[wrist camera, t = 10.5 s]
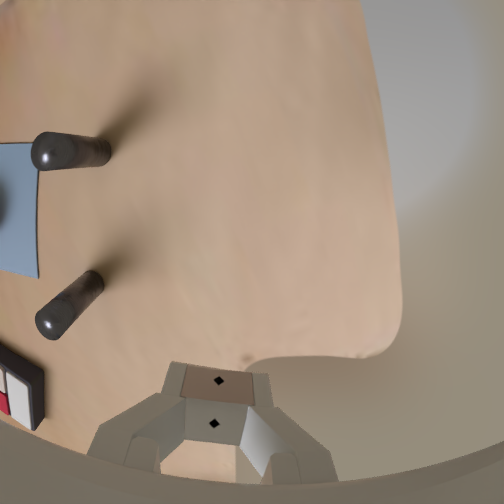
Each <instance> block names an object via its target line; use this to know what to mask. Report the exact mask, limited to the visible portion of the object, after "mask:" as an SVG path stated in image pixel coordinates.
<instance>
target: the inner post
mask: <svg viewBox="0 0 504 504" xmlns="http://www.w3.org/2000/svg"><path fill="white" fill-rule="evenodd" d="M111 153H112V149H111V146H110V144H109V142H108V141H107V140H105V139H102V138H95V137H88V136H80V135H72V134H64V133H55V132H43V133H41V134H40V135H38V136H37V137H36V139H35V140H34V142H33V144H32V147H31V161H32V163H33V165H34V167H35V168H36V169H38V170H40V171H50V170H60V169H72V168H86V167H100V166H103V165H105V164H106V163H107V162H108V161H109V159H110V157H111Z"/></svg>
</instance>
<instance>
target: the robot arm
mask: <svg viewBox="0 0 504 504" xmlns="http://www.w3.org/2000/svg"><path fill="white" fill-rule="evenodd" d="M184 439H185V440H193V441H202V442H212V443H219V444H227V445H237V446H240V448H241V449H242V451H243V452H244V454H245V455H246V456H247V458H248V459H249V460H250V462H251V463H252V464H253V466H254V467H255V468H256V470H257V471H258V472H259V474H260V475H261V476H262V480H261V483H260V484H241V483H227V482H215V481H206V480H198V479H190V478H183V477H177V476H171V475H165V474H161V469H160V463H161V462H162V461H163V460H164V459H165V458H166V457H167V456H168V455H169V454H170V453H171V452H172V451H173V450H175V449H176V448H177V447H178V446H179V445H180V444H181V443H182V442H183V441H184ZM0 504H504V441H503V442H500V443H498V444H495V445H493V446H490V447H488V448H485V449H482V450H480V451H477V452H474V453H471V454H468V455H465V456H462V457H459V458H455V459H452V460H449V461H445V462H442V463H438V464H434V465H431V466H427V467H423V468H419V469H414V470H410V471H405V472H400V473H395V474H390V475H385V476H379V477H372V478H366V479H358V480H350V481H340V482H339V481H338V477H337V474H336V471H335V468H334V464H333V461H332V457H331V454H330V452H329V450H327V449H326V448H325V447H324V446H322V445H321V444H320V443H319V442H317V441H316V440H315V439H314V438H313V437H312V436H310V435H309V434H308V433H307V432H306V431H305V430H303V429H302V428H301V427H300V426H299V425H297V423H295V422H294V421H293V420H292V419H291V418H290V417H289V416H287V415H286V414H285V413H284V412H283V411H282V410H281V409H280V408H278V407H274V406H273V400H272V393H271V386H270V380H269V374H268V373H261V372H242V371H232V370H224V369H218V368H211V367H205V366H199V365H193V364H187V363H181V362H175V361H172V362H171V363H170V365H169V368H168V372H167V375H166V378H165V382H164V385H163V388H162V392H161V393H155V394H153V395H152V396H150V397H148V398H146V399H145V400H143V401H141V402H140V403H138V404H136V405H135V406H133V407H131V408H129V409H128V410H126V411H124V412H122V413H121V414H119V415H117V416H115V417H114V418H112V419H110V420H108V421H106V422H105V423H103V424H101V425H99V428H98V430H97V432H96V434H95V437H94V439H93V441H92V443H91V446H90V448H89V450H88V452H87V455H85V454H82V453H79V452H76V451H73V450H70V449H68V448H65V447H62V446H59V445H57V444H54V443H52V442H49V441H47V440H44V439H42V438H39V437H37V436H35V435H32V434H30V433H28V432H26V431H23V430H21V429H19V428H17V427H15V426H13V425H11V424H9V423H7V422H5V421H3V420H1V419H0Z"/></svg>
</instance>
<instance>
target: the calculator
mask: <svg viewBox="0 0 504 504" xmlns="http://www.w3.org/2000/svg"><path fill="white" fill-rule="evenodd" d="M0 410H1V411H2V412H4V413H5V414H7V415H11V416H12V418H14V419H15V420H17V421H18V422H19V423H21V424H22V425H24V426H25V427H27V428H28V429H30V430H33V431H35V430H36V429H37V427H38V426H39V424H40V423H41V422H42V420H43V419H44V372H43V370H42V369H40V368H39V367H37V366H35V365H33V364H32V363H30V362H28V361H27V360H25V359H24V358H22V357H20V356H19V355H15V354H14V353H12V352H11V351H10V350H8V349H7V348H5V347H4V346H3V345H1V344H0Z"/></svg>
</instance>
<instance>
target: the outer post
mask: <svg viewBox="0 0 504 504" xmlns="http://www.w3.org/2000/svg"><path fill="white" fill-rule="evenodd" d="M103 289H104V282H103V279H102V278H101V276H100V275H99V274H98V273H96V272H94V271H87V272H85V273H84V274H83V275H81V276H80V277H79V278H78V279H77V280H75V281H74V282H73V283H72V284H70V285H69V286H68V287H67V288H65V289H64V290H63V291H62V292H61V293H59V294H58V295H57V296H56V297H55V298H53V299H52V300H51V301H50V302H49V303H48V304H46V305H45V306H44V307H43V308H42V309H41V310H39V311H38V312H37V313H36V316H35V323H36V326H37V328H38V330H39V332H40V333H41V334H42V335H43V336H44V337H46V338H47V339H49V340H58V339H59V338H60V337H61V336H62V335H63V334H64V332H65V331H66V330H67V329H68V328H69V327H70V326H71V325H72V324H73V322H74V321H75V320H76V319H77V318H78V317H79V316H80V315H81V314H82V313H83V312H84V311H85V310H86V308H87V307H88V306H89V305H90V304H91V303H92V302H93V301H94V300H95V299H96V298H97V297H98V296H99V295H100V294H101V293H102V291H103Z"/></svg>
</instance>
